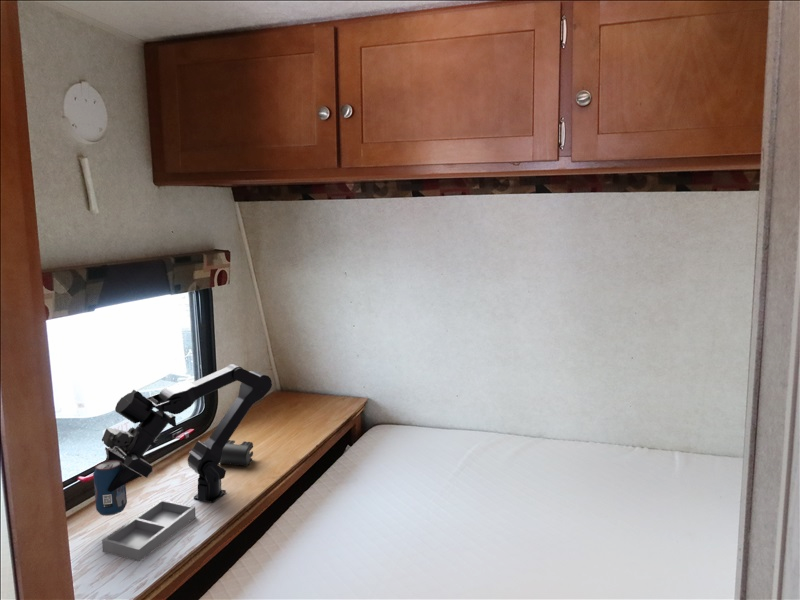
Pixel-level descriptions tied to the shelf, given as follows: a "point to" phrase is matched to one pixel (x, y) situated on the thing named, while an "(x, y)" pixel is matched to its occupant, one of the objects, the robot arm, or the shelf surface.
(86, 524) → the shelf surface
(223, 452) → the end cap
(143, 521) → the can carrier
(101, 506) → the soda can
